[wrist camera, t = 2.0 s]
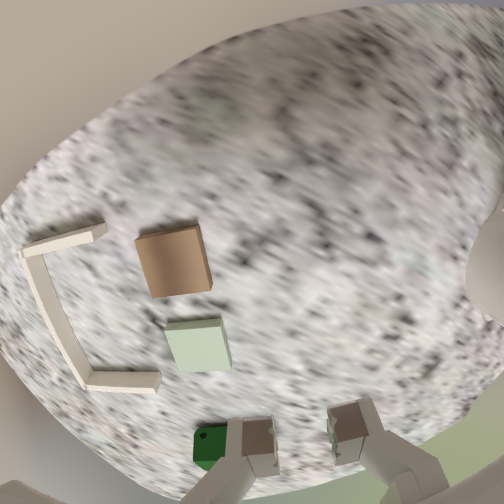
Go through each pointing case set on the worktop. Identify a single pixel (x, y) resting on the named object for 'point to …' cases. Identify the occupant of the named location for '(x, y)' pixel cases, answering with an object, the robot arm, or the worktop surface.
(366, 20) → the worktop surface
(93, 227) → the white u-shaped frame
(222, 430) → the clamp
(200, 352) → the sage tile
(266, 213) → the worktop surface
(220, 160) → the worktop surface
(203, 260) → the walnut tile
